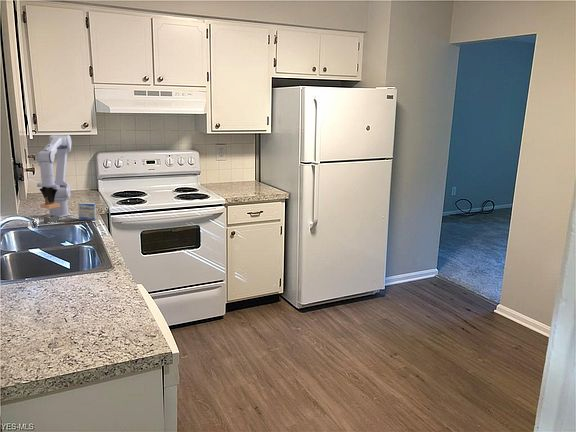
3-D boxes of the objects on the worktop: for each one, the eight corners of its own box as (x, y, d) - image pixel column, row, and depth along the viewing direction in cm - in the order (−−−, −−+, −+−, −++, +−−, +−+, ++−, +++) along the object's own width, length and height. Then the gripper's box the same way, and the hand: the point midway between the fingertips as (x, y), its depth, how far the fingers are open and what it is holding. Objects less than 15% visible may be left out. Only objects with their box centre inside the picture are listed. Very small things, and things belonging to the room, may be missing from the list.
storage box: (43, 222, 231) (43, 216, 230) (52, 220, 235) (52, 214, 235) (50, 223, 229) (50, 217, 228) (59, 221, 233) (58, 215, 233)
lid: (40, 207, 229) (39, 197, 228) (51, 205, 235) (50, 195, 234) (49, 208, 226) (48, 198, 225) (60, 206, 232) (59, 196, 231)
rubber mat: (57, 220, 235) (57, 220, 235) (69, 218, 241) (69, 217, 241) (67, 222, 232) (67, 221, 232) (80, 219, 238) (80, 219, 238)
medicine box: (78, 220, 236) (78, 203, 234) (80, 218, 240) (79, 202, 238) (94, 220, 238) (94, 204, 236) (96, 218, 242) (95, 202, 240)
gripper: (30, 175, 226) (32, 201, 229) (50, 177, 220) (52, 204, 223) (43, 173, 233) (45, 199, 236) (62, 175, 227) (65, 202, 230)
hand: (49, 202), depth 230 cm, fingers closed on lid
